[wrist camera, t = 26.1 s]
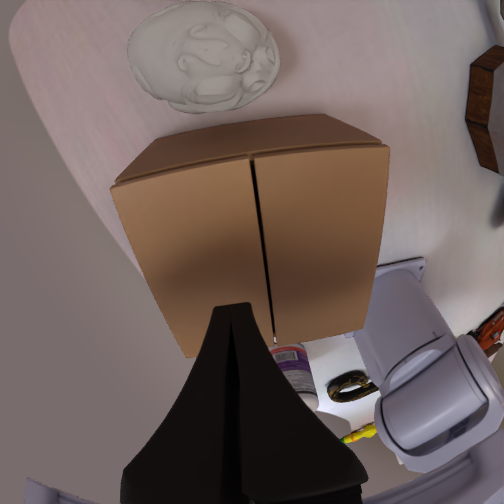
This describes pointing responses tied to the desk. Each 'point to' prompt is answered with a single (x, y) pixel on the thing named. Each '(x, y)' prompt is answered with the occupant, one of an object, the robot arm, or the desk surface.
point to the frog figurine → (204, 56)
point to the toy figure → (360, 434)
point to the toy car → (490, 331)
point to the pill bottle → (297, 371)
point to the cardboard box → (300, 212)
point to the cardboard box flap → (197, 244)
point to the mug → (488, 107)
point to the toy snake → (349, 380)
